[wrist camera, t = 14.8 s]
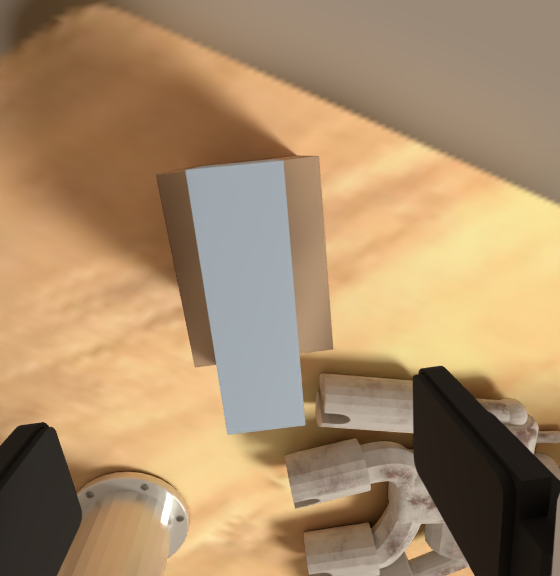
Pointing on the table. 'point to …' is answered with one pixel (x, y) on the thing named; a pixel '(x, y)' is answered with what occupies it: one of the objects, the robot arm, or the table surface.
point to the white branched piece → (383, 467)
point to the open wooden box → (304, 254)
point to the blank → (249, 291)
